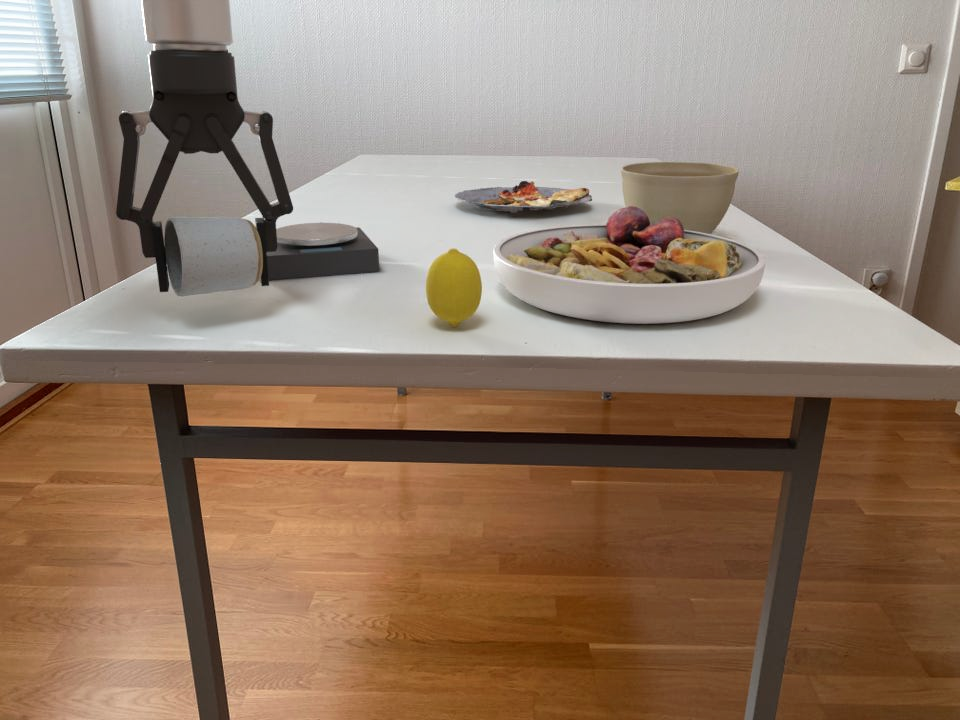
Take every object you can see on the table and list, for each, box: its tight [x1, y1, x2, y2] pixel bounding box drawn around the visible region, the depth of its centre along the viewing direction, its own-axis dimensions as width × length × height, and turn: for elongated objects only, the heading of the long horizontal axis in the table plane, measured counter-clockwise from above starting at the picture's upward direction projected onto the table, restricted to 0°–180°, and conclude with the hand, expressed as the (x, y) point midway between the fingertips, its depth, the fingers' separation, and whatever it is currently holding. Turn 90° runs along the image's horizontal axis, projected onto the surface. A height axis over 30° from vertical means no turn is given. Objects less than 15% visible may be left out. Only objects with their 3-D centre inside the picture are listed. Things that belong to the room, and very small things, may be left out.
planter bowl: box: [620, 161, 740, 234], centre depth 112 cm, size 16×16×11 cm
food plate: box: [454, 180, 593, 214], centre depth 142 cm, size 25×23×4 cm
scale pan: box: [276, 222, 358, 246], centre depth 102 cm, size 11×11×1 cm
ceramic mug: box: [163, 216, 263, 297], centre depth 78 cm, size 11×8×8 cm
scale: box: [267, 226, 380, 281], centre depth 102 cm, size 14×14×3 cm
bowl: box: [492, 206, 766, 325], centre depth 88 cm, size 30×30×8 cm
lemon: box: [425, 248, 483, 328], centre depth 77 cm, size 6×6×8 cm
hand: (215, 285), depth 79 cm, fingers closed on ceramic mug, 9 cm apart
